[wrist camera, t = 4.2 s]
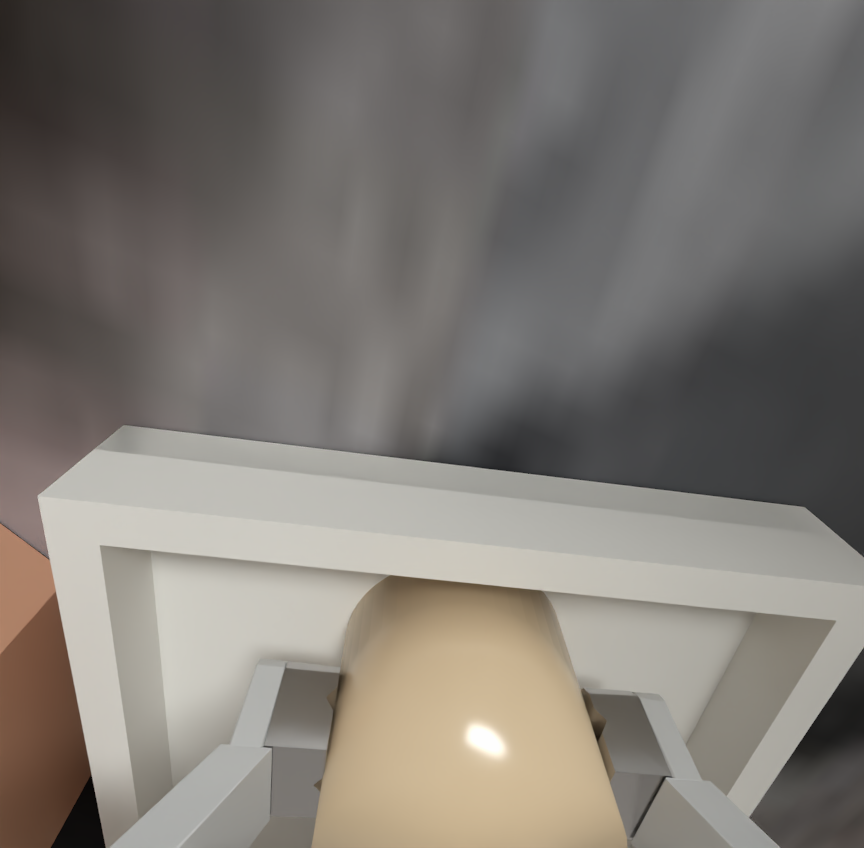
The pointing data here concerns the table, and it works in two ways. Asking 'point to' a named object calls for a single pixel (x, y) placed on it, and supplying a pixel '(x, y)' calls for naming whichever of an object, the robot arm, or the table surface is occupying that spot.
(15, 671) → the bowl
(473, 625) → the sand pebble
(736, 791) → the tray
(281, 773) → the robot arm
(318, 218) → the table surface
